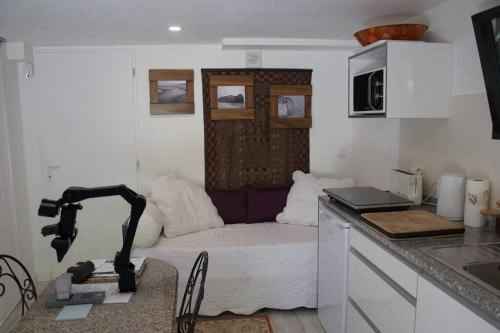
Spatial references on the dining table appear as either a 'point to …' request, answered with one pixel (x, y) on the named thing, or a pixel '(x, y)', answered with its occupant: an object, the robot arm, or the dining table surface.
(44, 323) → the dining table surface
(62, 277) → the block
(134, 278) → the robot arm
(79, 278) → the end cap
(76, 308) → the tile
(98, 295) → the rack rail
